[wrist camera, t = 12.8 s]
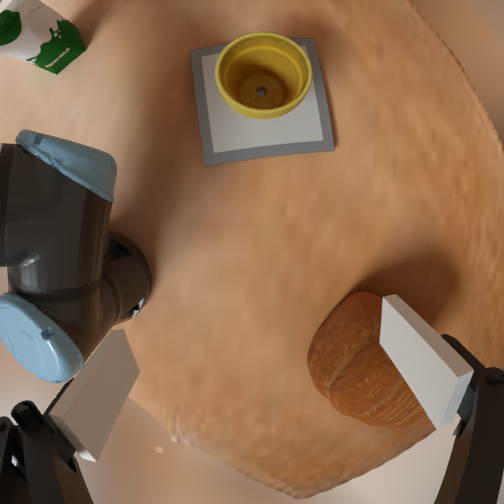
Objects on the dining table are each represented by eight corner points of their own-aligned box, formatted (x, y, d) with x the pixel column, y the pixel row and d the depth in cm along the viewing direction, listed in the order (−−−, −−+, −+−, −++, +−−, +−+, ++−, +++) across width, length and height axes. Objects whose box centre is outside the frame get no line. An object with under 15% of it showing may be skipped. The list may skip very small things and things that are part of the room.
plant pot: (231, 56, 33) (226, 24, 23) (304, 71, 33) (320, 42, 24) (215, 121, 35) (204, 104, 26) (290, 136, 36) (304, 124, 26)
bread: (355, 275, 43) (404, 326, 27) (429, 326, 46) (476, 374, 30) (293, 356, 47) (309, 428, 30) (373, 391, 50) (402, 449, 34)
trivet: (206, 166, 38) (204, 165, 37) (192, 54, 34) (190, 50, 32) (331, 151, 38) (335, 150, 36) (311, 42, 33) (313, 37, 32)
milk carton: (54, 81, 33) (-22, 55, 14) (45, 51, 31) (-21, 22, 12) (91, 50, 32) (22, 6, 13) (80, 22, 30) (20, -21, 11)
